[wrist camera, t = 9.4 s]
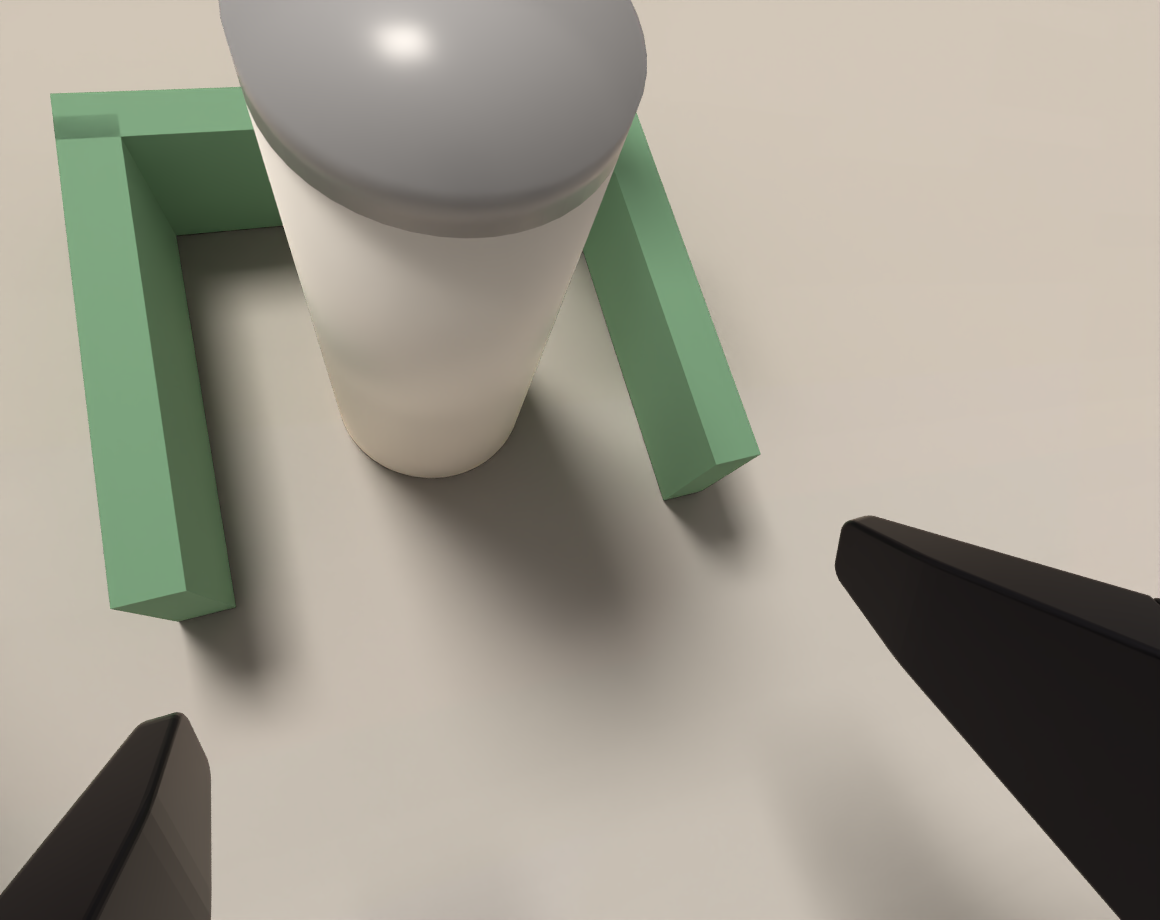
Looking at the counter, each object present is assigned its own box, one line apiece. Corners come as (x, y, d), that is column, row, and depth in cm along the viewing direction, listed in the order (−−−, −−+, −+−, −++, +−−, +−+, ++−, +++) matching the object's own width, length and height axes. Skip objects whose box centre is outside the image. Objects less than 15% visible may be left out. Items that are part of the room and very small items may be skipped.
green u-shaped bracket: (701, 491, 19) (1008, 299, 9) (177, 621, 15) (-286, 532, 5) (590, 164, 21) (737, -261, 12) (119, 201, 17) (-266, -398, 8)
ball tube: (519, 321, 19) (635, -83, 9) (519, 481, 18) (659, 218, 7) (344, 305, 18) (247, -176, 8) (329, 474, 16) (186, 156, 6)
